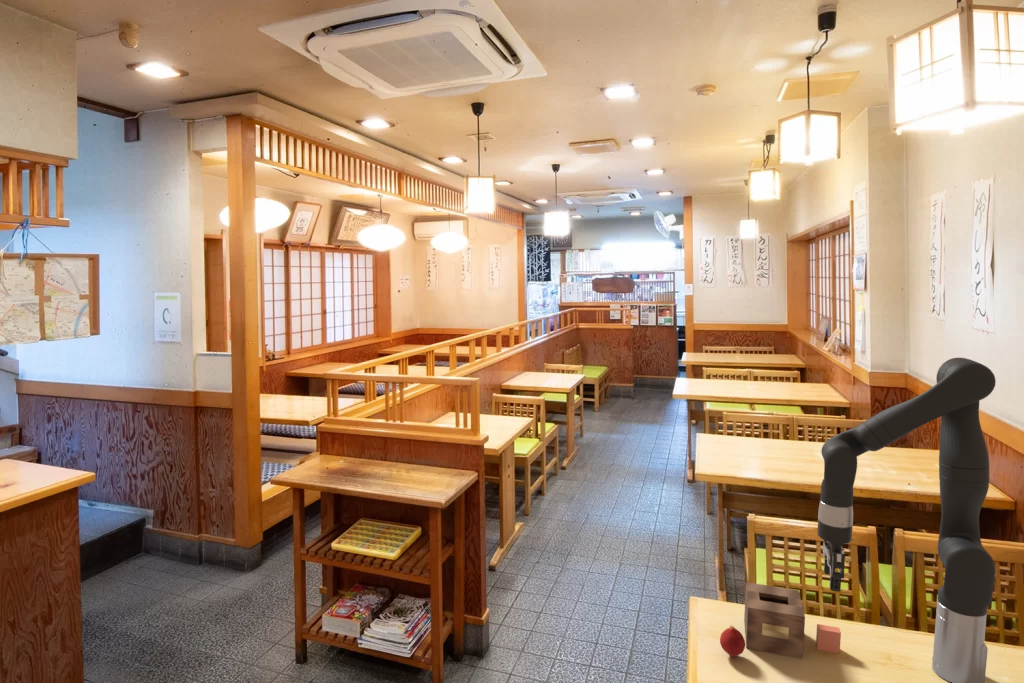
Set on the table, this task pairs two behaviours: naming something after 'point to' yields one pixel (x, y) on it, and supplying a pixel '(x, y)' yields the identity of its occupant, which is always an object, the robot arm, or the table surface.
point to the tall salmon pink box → (828, 638)
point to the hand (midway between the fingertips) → (831, 581)
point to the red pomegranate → (732, 641)
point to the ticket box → (774, 620)
